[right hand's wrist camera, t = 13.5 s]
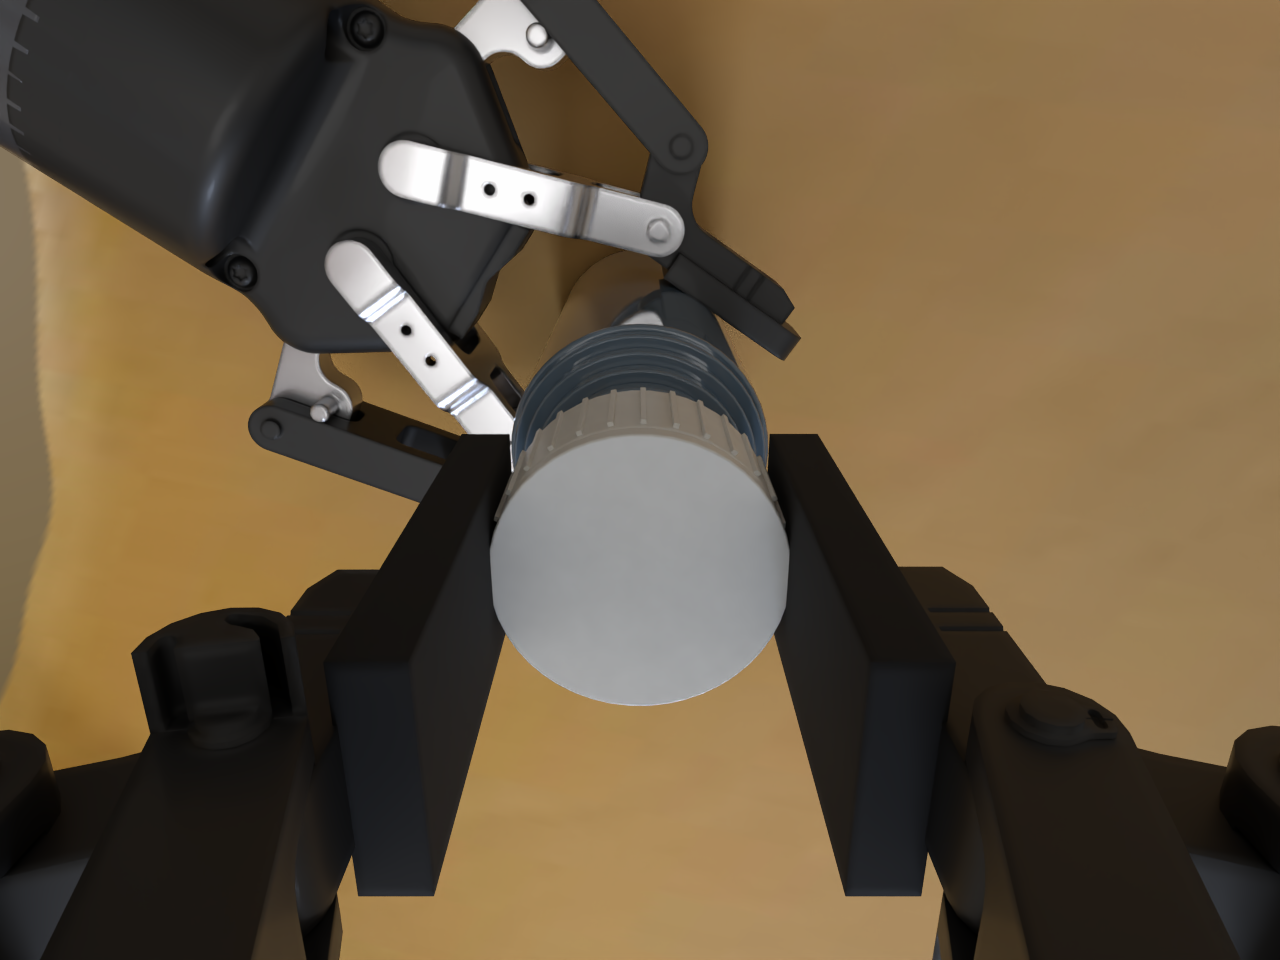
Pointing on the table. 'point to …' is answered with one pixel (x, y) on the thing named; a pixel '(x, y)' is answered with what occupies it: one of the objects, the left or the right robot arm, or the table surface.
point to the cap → (639, 550)
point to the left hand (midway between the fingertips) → (721, 427)
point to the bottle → (637, 351)
